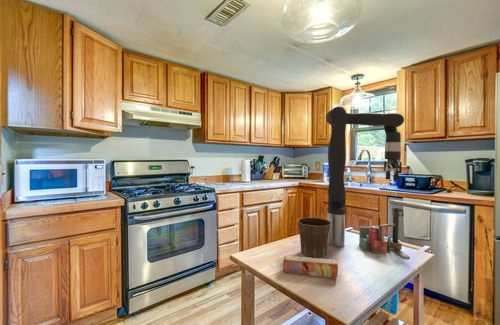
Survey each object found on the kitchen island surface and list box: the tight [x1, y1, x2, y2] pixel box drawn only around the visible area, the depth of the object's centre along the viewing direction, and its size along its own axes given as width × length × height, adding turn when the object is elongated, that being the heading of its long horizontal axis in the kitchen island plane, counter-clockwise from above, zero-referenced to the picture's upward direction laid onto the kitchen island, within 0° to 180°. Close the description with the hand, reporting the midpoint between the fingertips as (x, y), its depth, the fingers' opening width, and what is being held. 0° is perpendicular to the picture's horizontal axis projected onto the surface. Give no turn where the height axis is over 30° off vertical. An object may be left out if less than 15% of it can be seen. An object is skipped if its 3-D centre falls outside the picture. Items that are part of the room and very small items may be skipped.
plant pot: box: [296, 217, 331, 259], centre depth 117 cm, size 16×16×16 cm
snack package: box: [282, 255, 339, 280], centre depth 96 cm, size 21×7×7 cm, turn 77°
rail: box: [391, 248, 411, 259], centre depth 120 cm, size 3×15×1 cm, turn 175°
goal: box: [358, 226, 392, 254], centre depth 125 cm, size 12×10×10 cm
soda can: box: [368, 224, 385, 251], centre depth 123 cm, size 7×7×12 cm
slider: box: [372, 206, 403, 254], centre depth 122 cm, size 15×8×22 cm, turn 85°
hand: (391, 180), depth 130 cm, fingers open, 8 cm apart
